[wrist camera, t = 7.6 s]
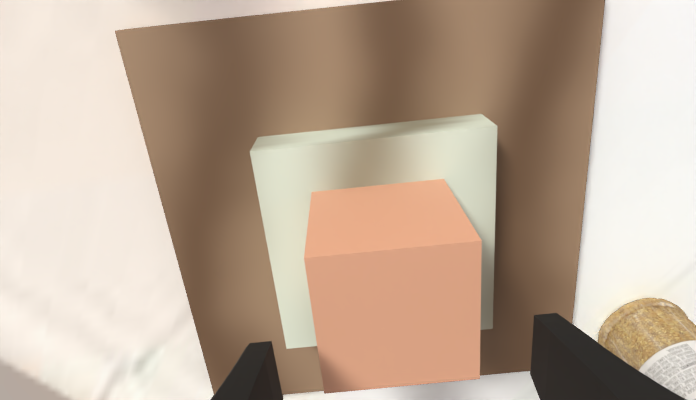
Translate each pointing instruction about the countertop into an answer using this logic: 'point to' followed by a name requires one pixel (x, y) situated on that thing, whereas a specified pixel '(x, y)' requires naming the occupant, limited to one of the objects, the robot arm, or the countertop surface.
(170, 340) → the countertop surface
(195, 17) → the countertop surface
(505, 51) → the walnut base board
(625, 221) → the countertop surface
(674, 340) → the sprinkles bottle
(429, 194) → the terracotta cube
